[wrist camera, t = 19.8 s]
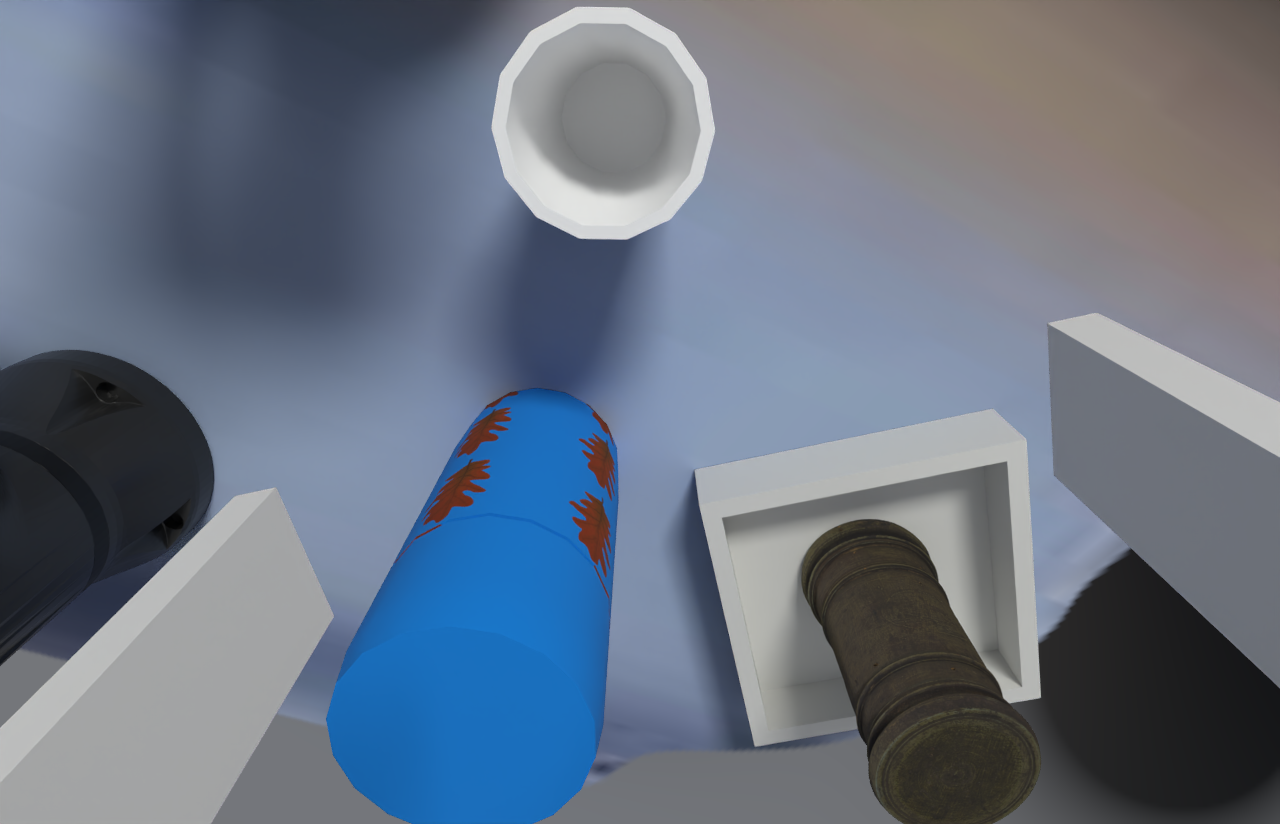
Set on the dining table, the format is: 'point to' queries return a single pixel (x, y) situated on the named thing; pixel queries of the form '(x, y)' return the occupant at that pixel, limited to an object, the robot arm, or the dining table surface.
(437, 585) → the thermos
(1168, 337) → the dining table surface
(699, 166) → the foam cup
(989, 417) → the white bin
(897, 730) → the container
